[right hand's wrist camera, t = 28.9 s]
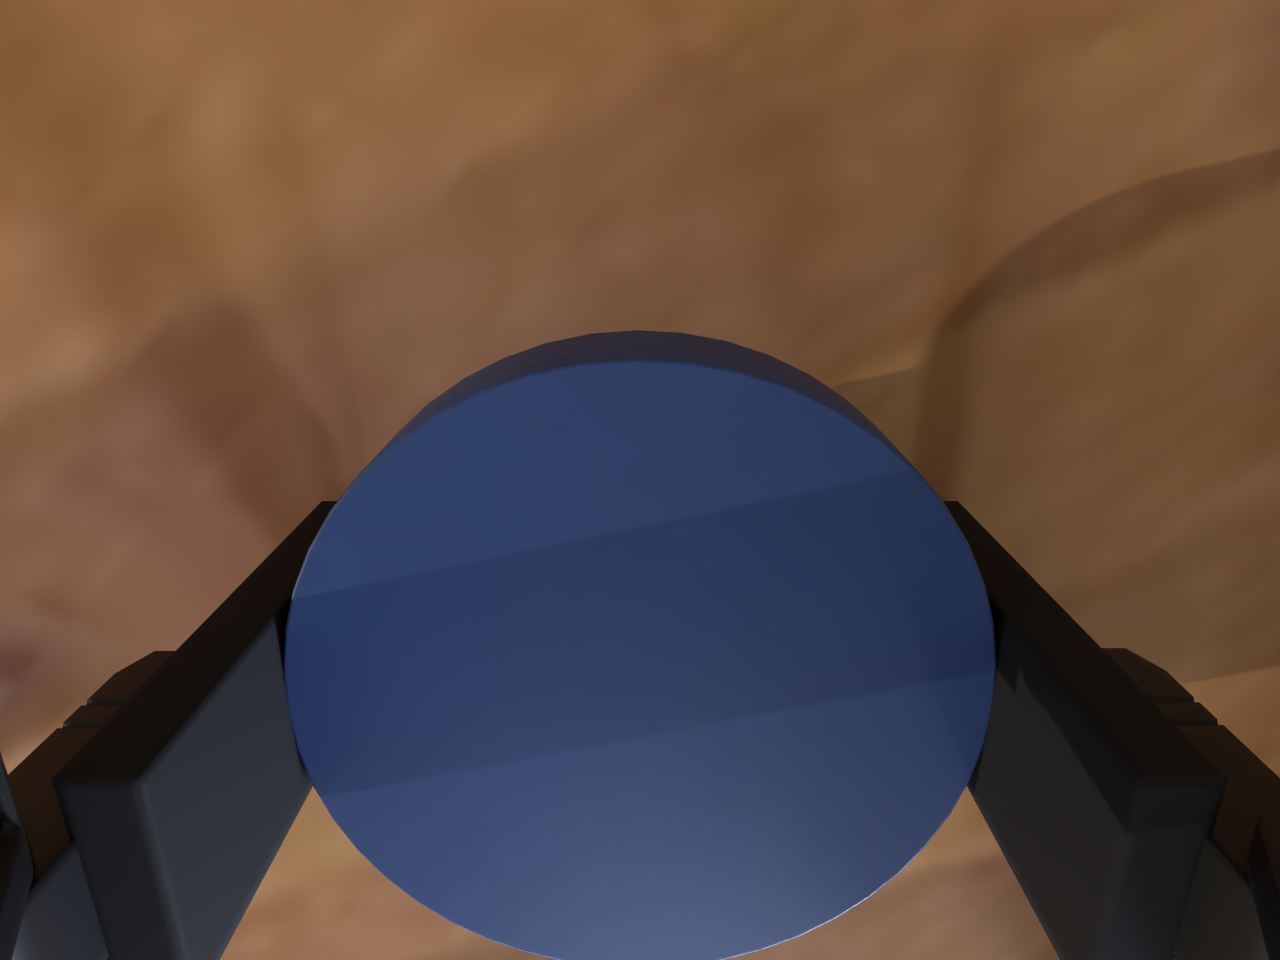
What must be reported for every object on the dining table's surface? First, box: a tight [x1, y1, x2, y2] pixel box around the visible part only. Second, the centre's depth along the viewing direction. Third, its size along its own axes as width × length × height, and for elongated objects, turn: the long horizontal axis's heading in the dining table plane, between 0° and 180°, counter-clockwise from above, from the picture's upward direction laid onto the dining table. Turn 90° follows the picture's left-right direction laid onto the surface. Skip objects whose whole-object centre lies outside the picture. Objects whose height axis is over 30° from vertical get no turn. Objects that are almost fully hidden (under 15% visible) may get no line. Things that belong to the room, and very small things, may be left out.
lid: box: [283, 330, 997, 960], centre depth 11 cm, size 9×9×2 cm
